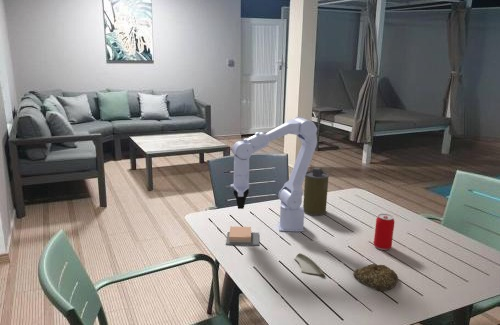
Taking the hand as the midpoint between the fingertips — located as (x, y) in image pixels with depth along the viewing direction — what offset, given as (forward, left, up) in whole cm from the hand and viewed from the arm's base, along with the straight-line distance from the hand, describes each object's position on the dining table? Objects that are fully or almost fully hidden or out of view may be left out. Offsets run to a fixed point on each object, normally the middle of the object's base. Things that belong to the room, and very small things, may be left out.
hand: (240, 208), depth 152 cm
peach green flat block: (0, -1, -9) cm, 9 cm away
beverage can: (-52, +9, -11) cm, 54 cm away
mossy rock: (-44, +30, -11) cm, 54 cm away
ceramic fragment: (-23, +24, -11) cm, 35 cm away
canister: (-32, -24, -11) cm, 42 cm away
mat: (-1, +5, -10) cm, 12 cm away
